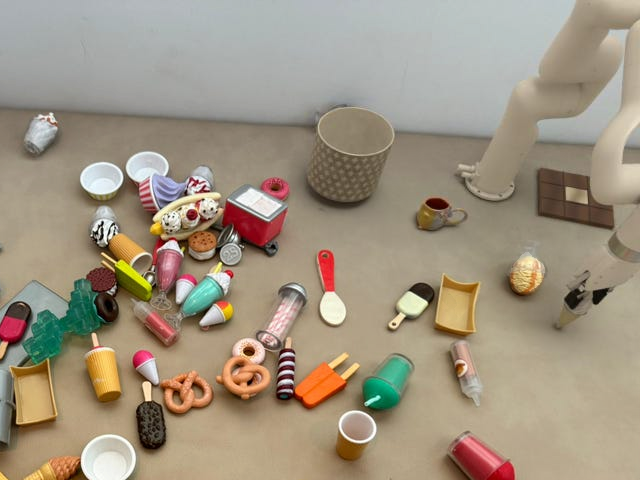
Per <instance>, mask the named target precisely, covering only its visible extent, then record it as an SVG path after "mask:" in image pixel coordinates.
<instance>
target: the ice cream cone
mask: <svg viewBox="0 0 640 480" xmlns="http://www.w3.org/2000/svg"><path fill="white" fill-rule="evenodd" d="M583 298H584V299H583V300H582V301H581V302H580V304H579V305H578V306H577V307H576V308H575V309H573V310H571V309H570V308H569V306H568V305H567V303H566V302H565V301H564V302H563V307H562V309H561V313H560V314H559V315H560V316H559V317H558V321H557V324H556V329H560V328H562V327H564V326H566V325H567V324H570V323H572V322H574V321H576V320H577V319H580V317H582V316H586V315H587V314H588V312H589V311H590V309H592V308H593V301H592V298H593V291H589V292H588V293H587V294H586V295H585V296H583Z"/></svg>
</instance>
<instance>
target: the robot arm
mask: <svg viewBox="0 0 640 480" xmlns="http://www.w3.org/2000/svg"><path fill="white" fill-rule="evenodd" d="M621 30H628V32H627V33H626V37H625V43H624V45H623V43H622V40H620V39H619V38H618V37H617V36H614V35H609V33H610V31H621ZM622 62H623V70H622V83H621V94H620V95H621V97H620V107H619V110H618V112H617V113H616V115H615V116H614V117H613V118H612V119H611V120H610V121H609V122H608V123H607V125H606V126H605V127H604V129H603V130H602V132H601V134H600V135H599V137H598V139H597V141H596V143H595V145H594V148H593V149H592V154H591V159H590V170H589V171H590V172H589V177H590V189H591V194H592V196H593V198H594V199H595V200H596V201H597V202H598V203H600V204H603V205H613V206H624V205H625V206H627V205H636V207H635V208H634V209H633V211H632V212H631V213H630V214H629V215H628V217H626V219H625V220H624V221H623V222H622V223H621V225H620V226H619V227H618V228H617V229H616V230H615V232H614V233H613V234H612V235H611V237H610V238H609V239H608V240H607V242H606V243H604V244H603V245H601V246H600V247H599V248H598V249H597V250H595V251H594V252H593V253H592V254H591V255H590V256H589V257H587V259H586V260H585V261H584V262H583V263H582V264H581V265H580V266H579V267H578V268H577V269H576V271H575V272H574V273H573V277H574V279H573V280H571V281H569V282H568V283H567V284H566V287H567V289H568V290H569V292H568V293H567V295H566V296H564V298H563V301H564V302H566V303H567V305H568V306H569V308H570V309H571V310H573V309H575V308H576V307H577V306H578V305H579V304H580V302H581V301H582V300H583V299H584V298H583V296H585V295H586V294H587V293H588V292H589V291H593V298H592V301H593V303H592V305H594V306H597V305H598V306H599V304H600V303H601V302H603V300H604V299H605V298H606V297H607V296H608V294H610V293H612V292H613V291H614V289H615V288H617V287H618V286H622V285H624V284H626V283H628V281H630V280H631V279H632V278H633V277H634V275H635V274H636V273H637V272H638V271H639V270H640V162H639V163H623V157H624V156H623V155H624V151H625V146H626V143H627V141H628V139H629V138H630V136H631V134H632V133H633V132H634V131H635V130H636V129H637V128H638V127H639V126H640V0H575V3H574V4H573V8H572V10H571V12H570V15H569V17H568V18H567V20H566V22H565V23H564V24H563V26H562V27H561V29H560V30H559V32H558V33H557V35H556V36H555V38H554V39H553V41H552V42H551V43H550V45H549V46H548V48H547V49H546V51H545V53H544V54H543V56H542V58H541V59H540V62H539V65H538V75H539V76H532V77H528V78H523V79H522V80H520V81H519V82H518V83H516V85H515V86H514V87H513V88H512V90H511V93H510V95H509V99H508V103H507V106H506V109H505V111H504V114H503V116H502V119H501V120H500V123H499V125H498V127H497V128H496V131H495V133H494V134H493V137H492V139H491V140H490V143H489V144H488V146H487V148H486V150H485V152H484V154H483V156H482V158H481V160H480V162H479V161H476V163H475V164H474V165H473V164H471V165H467V164H462V163H458V165H457V168H456V171H457V172H460V173H461V175H460V177H461V178H464V179H465V180H464V181H465V186H466V188H467V190H469V192H470V193H472V194H473V195H474V196H476V197H478V198H480V199H483V200H486V201H493V202H494V201H495V202H496V201H497V202H498V201H504V200H506V199H508V198H510V197H511V195H512V194H513V193H514V190H515V182H514V179H515V177H516V176H517V174H518V172H519V170H520V169H521V167H522V165H523V164H524V162H525V160H526V159H527V157H528V155H529V154H530V152H531V151H532V148H533V147H534V145H535V143H536V141H538V138H539V134H540V129H539V126H538V122H540V121H543V120H544V121H545V120H556V119H571V118H576V117H578V116H580V115H581V114H583V113H584V112H585V111H586V110H588V109H589V107H590V106H591V105H592V104H593V103H594V101H595V100H596V99H597V98H598V96H599V95H600V94H601V93H602V92H603V91H604V90H605V88H606V87H607V86H608V85H609V83H610V82H611V81H612V80H613V78H614V77H615V75H616V74H617V73H618V71H619V69H620V67H621V65H622ZM580 287H583V289H582V290H581V289H580Z"/></svg>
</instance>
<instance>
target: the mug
mask: <svg viewBox="0 0 640 480" xmlns="http://www.w3.org/2000/svg"><path fill="white" fill-rule="evenodd" d="M452 207H453V205H451V204H450V203H449V202H448V200H446V199H445V198H444V197H440V196H432V197H428V198H427V199H425V200H424V201H423V202H422V203H421V204H420V208H419V209H418V211H417V213H416V214H417V215H416V221H417V224H418V229H424V230H428V231H435V230H438V229H440V228H442V227H443V226H455V225H460V224H463V223H464V222H466V221H467V219H468V217H469V213H468V211H467V210H466V209H465V208H462V207H455V208H452ZM454 212H455V213H456V212H462V213H463V217H462V218H461V219H458V220H449V218H453V213H454Z"/></svg>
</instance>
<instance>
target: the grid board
mask: <svg viewBox="0 0 640 480" xmlns="http://www.w3.org/2000/svg"><path fill="white" fill-rule="evenodd" d="M538 216H542V217H547V218H552V219H557V220H563V221H567V222H572V223H577V224H583V225H588V226H594V227H598V228H602V229H608V230H613V229H614V228H615V215H614V205H603V204H600V203H598V202H597V201H596V200H595V199H594V198H593V196H592V194H591V189H590V175H584V174H578V173H571V172H568V171H567V172H566V171H564V170H563V171H561V170H556V169H550V168H545V167H539V169H538Z"/></svg>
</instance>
